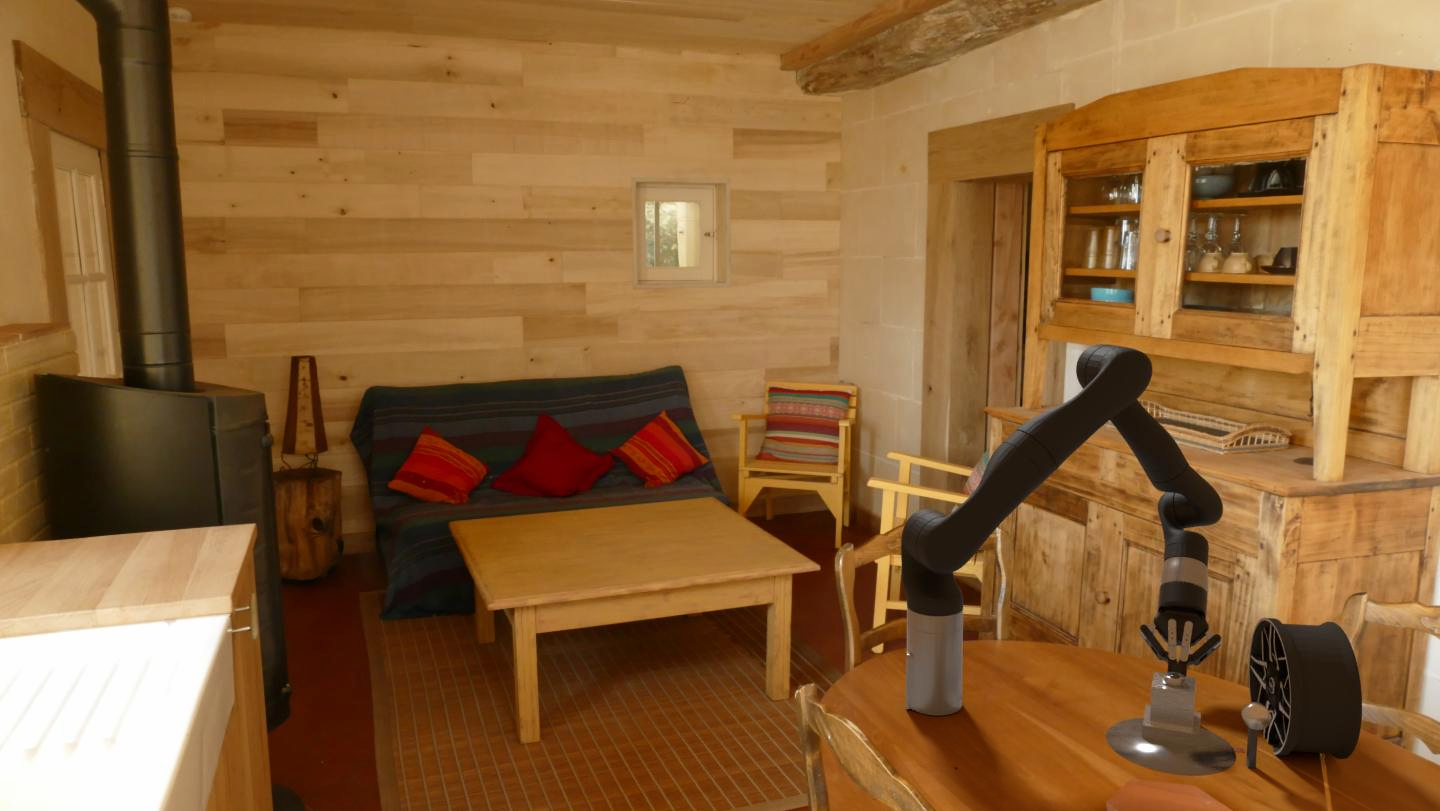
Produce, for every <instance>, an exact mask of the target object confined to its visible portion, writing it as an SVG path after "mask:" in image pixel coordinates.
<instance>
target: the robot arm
mask: <svg viewBox="0 0 1440 811" xmlns="http://www.w3.org/2000/svg"><path fill="white" fill-rule="evenodd" d="M1075 366H1076V367H1075V373H1076V379H1077V381H1078V383H1079V385H1080V386H1081V388H1082V390H1081V391H1080V392H1078V393H1077V394H1076V395H1074V396H1073V397H1072V398H1071V399H1069V400H1067V401H1066V402H1063V403H1061V404H1058V405H1057V406H1056V407H1053V408H1051V409H1048V410H1046V411H1044V412H1042V413H1041V414H1038V415H1035V416H1034V417H1033V418H1030V419H1029V420H1027V421H1025V422H1024V423H1023V424H1022V425H1020V426H1019V427H1017V428H1016V429H1015V430H1014V431H1013V432H1012V433H1011V434H1010V435H1009V436H1008V437H1006V439H1004V440H1003V441H1002V442H1001V443H1000V444H999V446H998V447H996V449H995V450H994V451H993V453H992V455H991V456H990V458H989V460H988V462H987V464H986V466H985V469H984V471H983V474H982V477H981V479H980V481H979V483H978V485H977V487H976V489H975V490H974V491H973V492H972V493H971V495H970V496H969V497H968V498H967V499H965V500H964V501H963V502H962V503H961V504H960V505H959V506H958V507H957V508H955V510H953V511H952V512H950V514H946V513H943V512H941V511H939V510H936V509H930V508H923V509H919V510H917V511H916V512H914V513H912V514H911V515H910V516H909V517H908V519H907V520H906V522H905V524H904V526H903V529H902V533H901V539H900V556H901V579H902V580H901V581H902V587H903V590H904V593H905V598H906V655H905V709H906V708H907V709H906V710H908V709H912V710H911V711H914V710H915V711H914V712H917V713H920V714H923V715H929V716H949V715H952V714H955V713H957V712H958V711H960V710H961V709H962V705H963V657H964V656H963V653H964V652H963V648H964V647H963V645H964V644H963V641H964V640H963V639H964V593H963V591H962V589H961V587H960V586H959V585H958V582H957V580H956V578H955V575H954V572H957V571H958V570H960V569H961V568H963V567H964V566H965V565H966V564H968V562H969V561H970V560H971V559H972V558H973V557H974V556H975V554H976V553H977V552H978V551H979V550H980V549H981V547H983V545H984V544H985V543H986V542H987V540H988V539H989V538H990V536H991V535H993V533H994V532H995V530H996V529H997V528H998V527H999V526H1000V525H1001V524H1002V523H1003V522H1004V521H1005V520H1006V519H1007V517H1009V516H1010V515H1011V514H1012V513H1013V512H1014V511H1015V510H1016V509H1017V508H1018V507H1019V506H1020V505H1021V503H1023V501H1025V500H1026V499H1027V498H1028V497H1030V495H1031V494H1032V493H1033V492H1034V491H1036V489H1038V488H1039V486H1041V485H1042V484H1043V483H1044V482H1045V481H1046V480H1047V479H1048V478H1050V476H1052V475H1053V474H1054V473H1055V471H1056V470H1058V468H1060V467H1061V466H1062V465H1063V464H1064V462H1065V461H1067V459H1069V457H1070V456H1072V455H1073V454H1074V453H1075V452H1076V451H1077V450H1078V449H1079V448H1081V446H1082V445H1083V444H1084V443H1085V442H1086V441H1087V442H1088V440H1089V439H1090V438H1091V437H1092V436H1093V435H1094V434H1095V433H1096V432H1097V431H1098V430H1099V429H1101V428H1102V427H1104V425H1105V424H1107V423H1108V422H1111V424H1112V425H1113V426H1114V427H1115V429H1116V430H1117V431H1118V433H1119V434H1120V435H1121V437H1122V438H1123V439H1124V441H1125V442H1126V444H1127V445H1128V447H1129V448H1130V450H1131V451H1132V453H1133V455H1135V458H1136V460H1137V461H1138V463H1139V465H1140V466H1141V468H1142V469H1143V471H1144V473H1145V475H1146V476H1147V478H1148V480H1149V481H1150V483H1151V485H1152V486H1153V487H1154V488H1155V489H1156V490H1157V491H1159V492H1164V493H1163V494H1162V495H1161V496H1160V498H1159V500H1158V502H1157V513H1158V516H1159V520H1160V521H1159V522H1160V524H1161V528H1162V533H1163V541H1164V554H1163V563H1162V564H1163V565H1162V568H1161V573H1160V578H1159V579H1160V580H1159V591H1158V593H1159V594H1158V602H1157V613H1156V614H1155V616H1154V617H1153V622H1151V623H1149V624H1140V627H1139V629H1140V631H1139V632H1140V636H1141V637H1142V639H1143V640H1144V642H1145V643H1146V644H1147V645H1148V646H1149V648H1150V650H1151V651H1152V652H1153V654H1154V655H1155V656H1156V657H1157V659H1158V660H1160V661H1163V662H1165V663H1167V671H1166V672H1175V673H1179V674H1182V675H1184V676H1185V677H1188V676H1187V674H1188V667H1189V666H1199V665H1201V663H1203V662H1204V661H1205V660H1207V658H1208V657H1210V655H1212V654H1213V653H1214V652H1215V651H1217V649H1219V648H1220V647H1221V646H1222V636H1221V635H1220V634H1217V633H1216V634H1215V633H1214V632H1213V631H1211V630H1210V626H1209V623H1208V620H1207V613H1208V612H1207V609H1208V608H1207V607H1208V594H1209V573H1208V568H1209V566H1208V565H1209V541H1208V539H1207V538H1206V537H1205V536H1204V535H1202V534H1201V533H1198V532H1195V531H1190V530H1184V529H1190V528H1198V527H1206V526H1212V525H1216V524H1217V523H1218V522H1219V521H1220V520H1221V519H1222V517H1223V513H1224V506H1223V501H1222V498H1221V496H1220V494H1219V493H1218V492H1217V489H1215V488H1214V487H1213V486H1212V484H1210V482H1208V480H1206V479H1205V478H1203V476H1202V475H1201V474H1199V473H1198V472H1197V471H1196V470H1195V469H1194V468H1193V467H1192V466H1191V465H1190V464H1189V462H1188V460H1187V459H1186V457H1185V455H1184V453H1183V451H1182V450H1181V448H1180V446H1179V445H1178V443H1177V442H1176V440H1175V438H1173V436H1172V435H1171V434H1170V433H1169V431H1167V429H1166V428H1165V427H1164V426H1163V425H1162V424H1161V423H1160V422H1159V421H1158V420H1157V419H1155V417H1153V415H1151V413H1150V412H1149V411H1148V410H1146V409H1147V408H1145V407H1144V406H1143V405H1142V404H1141V403H1140V401H1139V400H1138V399H1139V398H1140V397H1141V396H1142V395H1143V393H1144V392H1146V390H1147V388H1148V386H1149V384H1150V383H1151V380H1152V376H1153V364H1152V361H1151V358H1149V356H1148V355H1147V354H1146V353H1145V352H1143V351H1140V350H1139V349H1135V348H1132V347H1126V346H1122V345H1121V346H1120V345H1114V344H1106V343H1105V344H1104V343H1103V344H1102V343H1099V344H1093V345H1090V346H1089V347H1087V348H1086V349H1084V350H1083V351H1082V352H1081V354H1080V355H1079V357H1078V360H1077V362H1076V365H1075ZM1156 631H1157V632H1158V634H1159V635H1160V637H1161V638H1162V640H1163V641H1164V642H1165V643H1166V644H1168V651H1167V650H1165V648H1164V647H1163V645H1162V644H1161V643H1160V641H1159V640H1158V639H1157V638H1156V637H1157V632H1156ZM1203 638H1204V643H1203V644H1202V645H1201V646H1200V647H1199V648H1197V649H1196V650H1195V651H1194V652H1193V653H1191V649H1192V647H1194V646H1196V645H1197V644H1198V643H1199V642H1200V641H1202V639H1203ZM1177 647H1181V649H1180V654H1179V658H1178V656H1177V650H1178V649H1177ZM1177 658H1178V659H1179V661H1177Z"/></svg>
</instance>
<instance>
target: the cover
mask: <svg viewBox="0 0 1440 811" xmlns="http://www.w3.org/2000/svg"><path fill="white" fill-rule="evenodd" d="M1196 683H1197V682H1196V677H1190V676H1187V677H1185V676H1184V675H1182V674H1179V673H1175V672H1167V671H1166V672H1164V673H1163V672H1155V671H1154V672H1153V676H1152V681H1151V688H1150V704H1147V703H1146V704H1145V707H1144V714H1143V718H1144V719H1143V724H1142V737H1143V738H1149V739H1154V740H1160V741H1166V742H1171V743H1177V744H1183V745H1188V746H1194V747H1199V741H1200V727H1201V724H1202V723H1201V722H1202V713H1201V712H1199V711H1195V703H1196V702H1195V701H1196V698H1195V697H1196Z"/></svg>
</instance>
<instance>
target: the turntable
mask: <svg viewBox="0 0 1440 811" xmlns="http://www.w3.org/2000/svg"><path fill="white" fill-rule="evenodd" d="M1143 719H1144V717H1138V718H1129V719H1125V720H1122V721H1119V722H1116V723H1115V724H1112V725H1111V726H1109V728H1108V730H1107V731H1106V736H1105V739H1106V742H1107V744H1108V745H1109V747H1110V749H1112V751H1114V752H1115V753H1117V755H1119V757H1120V756H1121V757H1122V758H1123V759H1125V760H1128V761H1129V762H1131V763H1132V764H1136V765H1137V766H1140V767H1144V768H1147V769H1148V770H1153V771H1156V772H1160V773H1161V772H1162V773H1166V774H1171V775H1179V776H1209V775H1214V774H1218V773H1222V772H1224V771H1227V770H1228V769H1230V768H1231V767H1233V765H1234V764H1235V762H1236V760H1237V756H1236V755H1237V754H1236V753H1246V751H1245V750H1244V747H1243V748H1242V747H1233V746H1232V745H1231V744H1230V743H1229V742H1228V741H1227V740H1225V739H1224V738H1223V737H1221V736H1219V735H1218V734H1216V733H1214V732H1213V731H1211V730H1208V729H1206V728H1204V727H1201V726H1200V741H1199V747H1194V746H1188V745H1183V744H1177V743H1171V742H1166V741H1160V740H1154V739H1149V738H1143V737H1142V724H1143Z"/></svg>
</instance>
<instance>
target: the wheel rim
mask: <svg viewBox="0 0 1440 811" xmlns="http://www.w3.org/2000/svg"><path fill="white" fill-rule="evenodd" d="M1350 641H1351V640H1350V639H1349V637H1348V636H1347V634H1346V631H1345V630H1344V629H1343V628H1342V627H1341V626H1340V625H1339V624H1338V623H1336V622H1333V621H1325V622H1323V623H1321V624H1318V625H1317V624H1316V625H1315V624H1295V623H1283V622H1282V621H1280V620H1279V619H1277V618H1273V617H1272V618H1271V617H1261V619H1259V621H1257V623H1256V625H1255V626H1254V630H1253V632H1252V634H1251V640H1250V647H1249V654H1248V688H1249V690H1248V691H1249V697H1250V702H1257V703H1261V704H1263V705H1264V706H1265V707H1266V708H1267V709H1268V711H1269V712H1270V714H1271V718H1272V719H1271V723H1270V724H1269V726H1268V727H1266V728H1265V729H1262V730H1259V731H1260V732H1262V734H1263V738H1264V739H1266V740H1267V741H1266V743H1267V744H1269V745H1272V749H1273V751H1272V753H1273V754H1274V756H1287V755H1289V754H1290V753H1292V752H1299V753H1300V752H1301V753H1311V754H1312V753H1314V754H1327V755H1328V754H1329V756H1332V757H1333V758H1335V759H1337V760H1346V759H1348V758H1350V756H1352V754H1353V753H1354V752H1355V749H1356V747H1357V744H1358V742H1359V738H1360V734H1361V728H1362V722H1363V721H1362V720H1363V694H1362V682H1361V676H1360V671H1359V667H1358V661H1357V658H1356V654H1355V652H1354V649H1353V646H1352V644H1351V642H1350Z"/></svg>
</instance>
